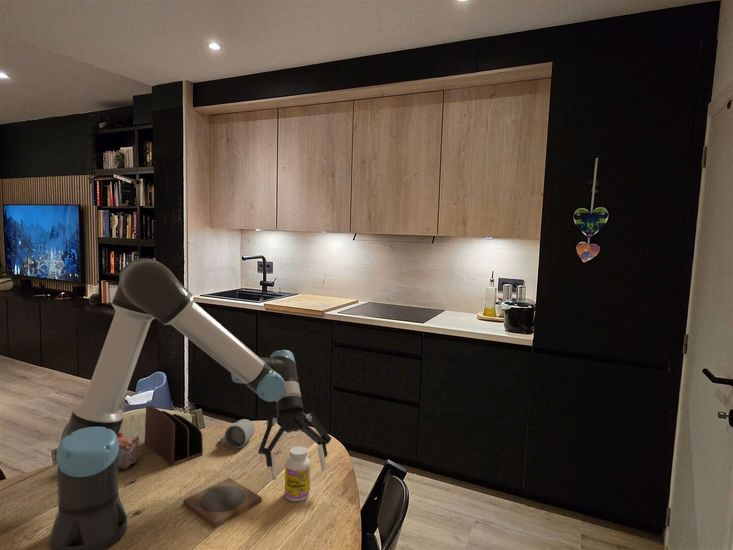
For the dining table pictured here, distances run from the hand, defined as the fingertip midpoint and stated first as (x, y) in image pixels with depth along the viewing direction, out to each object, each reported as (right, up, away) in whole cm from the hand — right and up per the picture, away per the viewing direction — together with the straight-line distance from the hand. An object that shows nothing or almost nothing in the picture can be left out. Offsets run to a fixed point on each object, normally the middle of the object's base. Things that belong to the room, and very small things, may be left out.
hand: (300, 474), depth 120 cm
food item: (-58, -3, +13) cm, 59 cm away
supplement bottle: (-1, -6, +1) cm, 7 cm away
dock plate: (-20, -6, -3) cm, 21 cm away
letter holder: (-44, -3, +24) cm, 50 cm away
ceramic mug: (-26, -3, +29) cm, 39 cm away
